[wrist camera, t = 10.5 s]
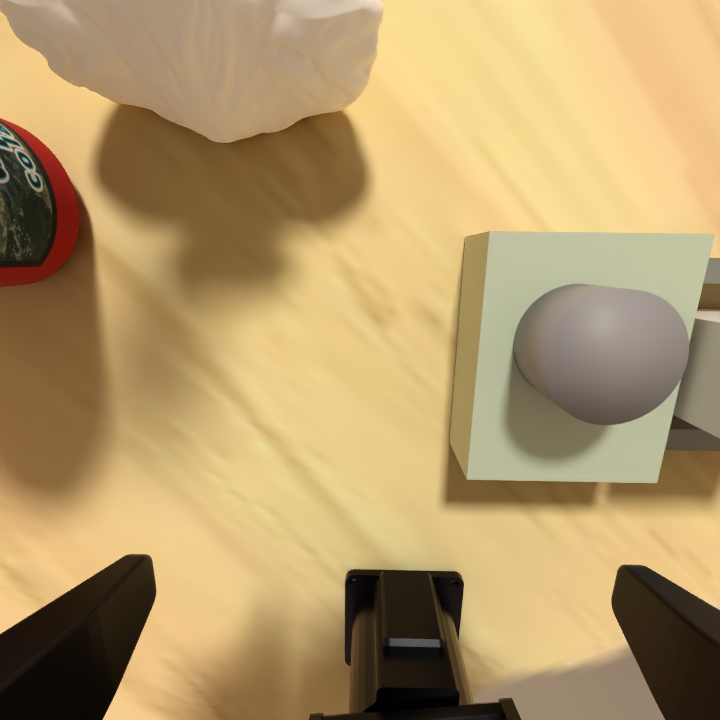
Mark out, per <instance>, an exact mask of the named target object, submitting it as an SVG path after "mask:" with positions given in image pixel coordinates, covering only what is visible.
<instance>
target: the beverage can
mask: <svg viewBox="0 0 720 720" xmlns="http://www.w3.org/2000/svg"><path fill="white" fill-rule="evenodd" d="M78 229H79V211H78V204H77V199H76V195H75V192H74V189H73V186H72V183H71V181H70V179H69V177H68V175H67V173H66V171H65V169H64V168H63V166H62V165H61V163H60V162H59V160H58V159H57V158H56V156H55V155H54V154H53V153H52V152H51V151H50V149H49V148H48V147H47V146H46V145H45V144H43V143H42V142H41V141H40V140H39V139H38V138H36V137H35V136H34V135H32V134H31V133H30V132H28V131H26V130H25V129H23V128H21V127H19V126H18V125H15V124H13V123H11V122H8V121H6V120H3V119H1V118H0V287H2V286H13V285H23V284H30V283H34V282H37V281H40V280H43V279H45V278H47V277H49V276H50V275H52V274H53V273H55V272H56V271H57V270H58V269H59V268H61V267H62V265H63V264H64V263H65V262H66V261H67V259H68V258H69V256H70V254H71V253H72V250H73V248H74V246H75V243H76V240H77V235H78Z"/></svg>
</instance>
